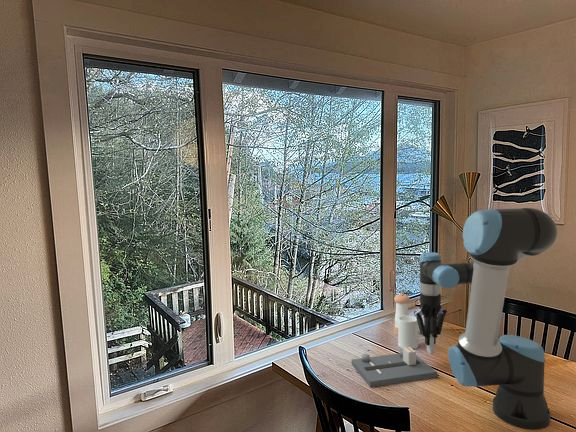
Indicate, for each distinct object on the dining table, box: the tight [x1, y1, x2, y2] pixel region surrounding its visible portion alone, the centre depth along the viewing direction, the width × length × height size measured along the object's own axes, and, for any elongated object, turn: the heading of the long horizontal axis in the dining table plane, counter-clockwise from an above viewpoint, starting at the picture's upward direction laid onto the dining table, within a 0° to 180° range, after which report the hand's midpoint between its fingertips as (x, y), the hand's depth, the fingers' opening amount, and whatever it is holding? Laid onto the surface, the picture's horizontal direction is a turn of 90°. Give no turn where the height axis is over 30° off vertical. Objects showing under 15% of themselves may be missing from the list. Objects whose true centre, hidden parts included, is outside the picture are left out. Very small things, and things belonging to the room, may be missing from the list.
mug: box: [397, 315, 425, 350], centre depth 172 cm, size 12×8×12 cm
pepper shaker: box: [393, 292, 411, 336], centre depth 186 cm, size 7×7×19 cm
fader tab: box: [402, 347, 417, 365], centre depth 152 cm, size 4×3×5 cm
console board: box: [351, 348, 438, 388], centre depth 151 cm, size 18×26×4 cm
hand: (430, 352), depth 155 cm, fingers closed
